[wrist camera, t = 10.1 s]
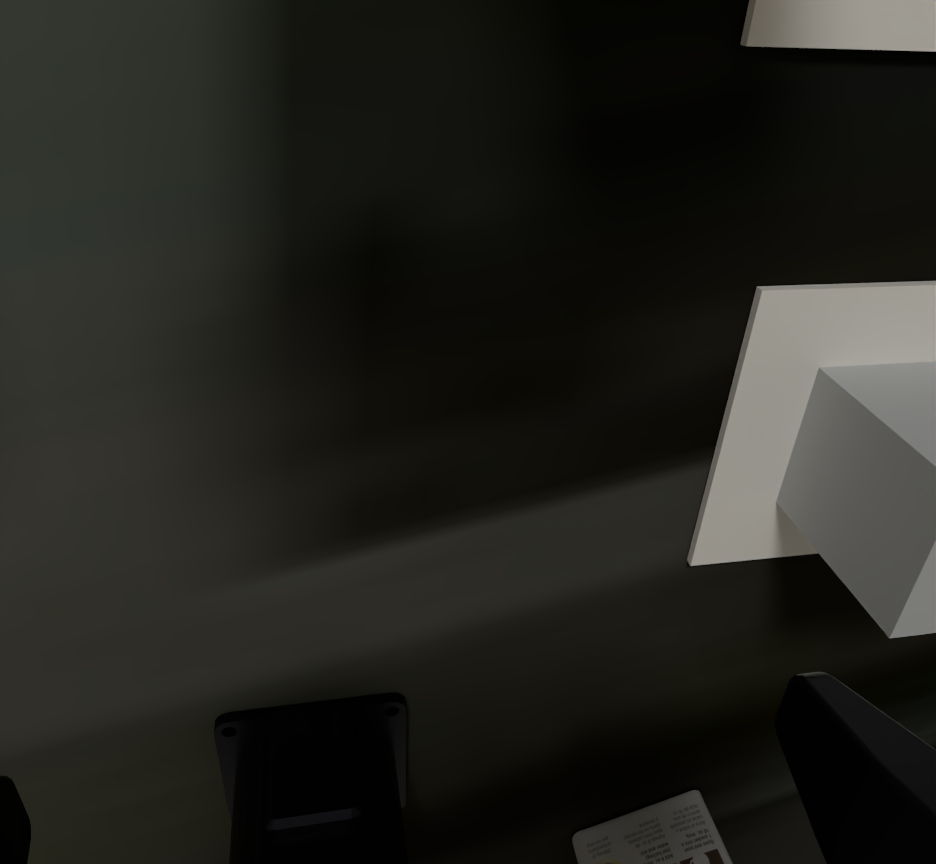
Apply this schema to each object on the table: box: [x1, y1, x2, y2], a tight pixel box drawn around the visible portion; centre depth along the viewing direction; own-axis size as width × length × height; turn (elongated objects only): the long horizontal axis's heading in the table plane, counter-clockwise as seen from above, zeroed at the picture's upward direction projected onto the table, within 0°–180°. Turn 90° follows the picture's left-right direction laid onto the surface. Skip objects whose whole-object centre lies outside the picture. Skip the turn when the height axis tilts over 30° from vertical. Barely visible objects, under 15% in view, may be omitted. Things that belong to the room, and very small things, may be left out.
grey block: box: [776, 361, 936, 638], centre depth 23 cm, size 5×5×6 cm
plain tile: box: [687, 281, 936, 566], centre depth 25 cm, size 10×10×1 cm
